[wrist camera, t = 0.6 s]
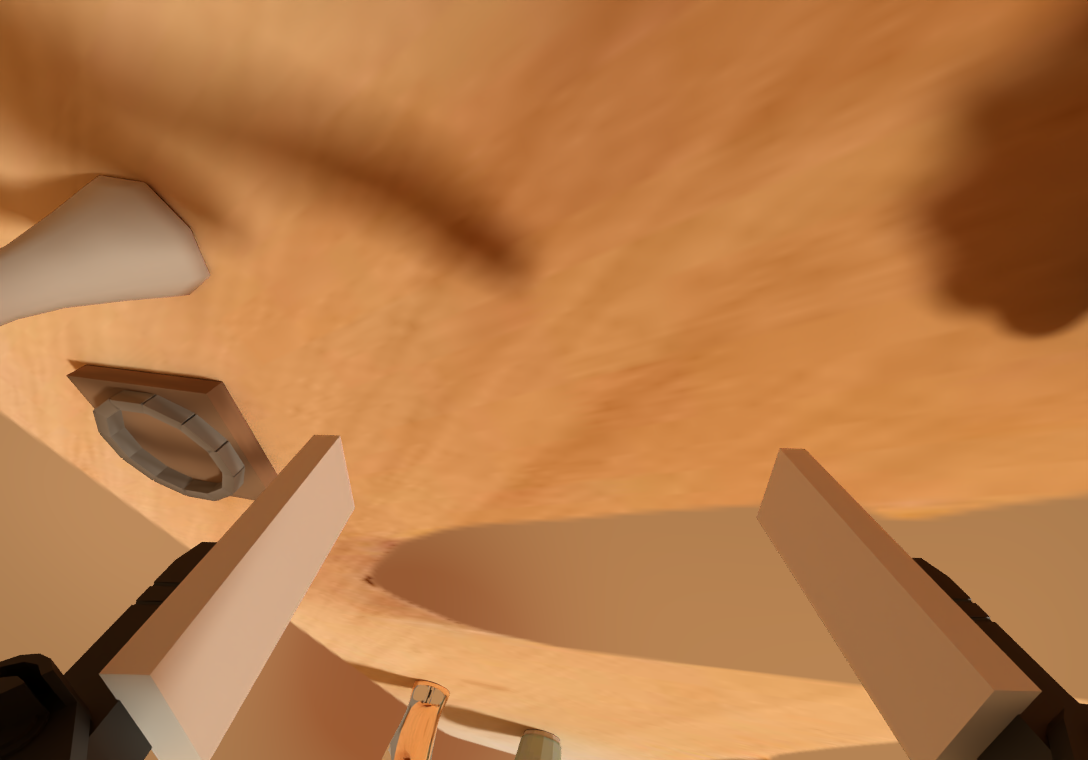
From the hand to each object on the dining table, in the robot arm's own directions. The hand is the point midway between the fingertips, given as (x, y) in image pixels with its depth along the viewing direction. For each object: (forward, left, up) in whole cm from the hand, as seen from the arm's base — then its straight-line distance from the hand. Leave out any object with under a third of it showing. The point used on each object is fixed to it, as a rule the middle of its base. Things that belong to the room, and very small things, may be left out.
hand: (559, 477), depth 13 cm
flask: (-2, -27, -12) cm, 30 cm away
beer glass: (+70, -22, -12) cm, 74 cm away
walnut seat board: (+15, -35, -12) cm, 40 cm away
